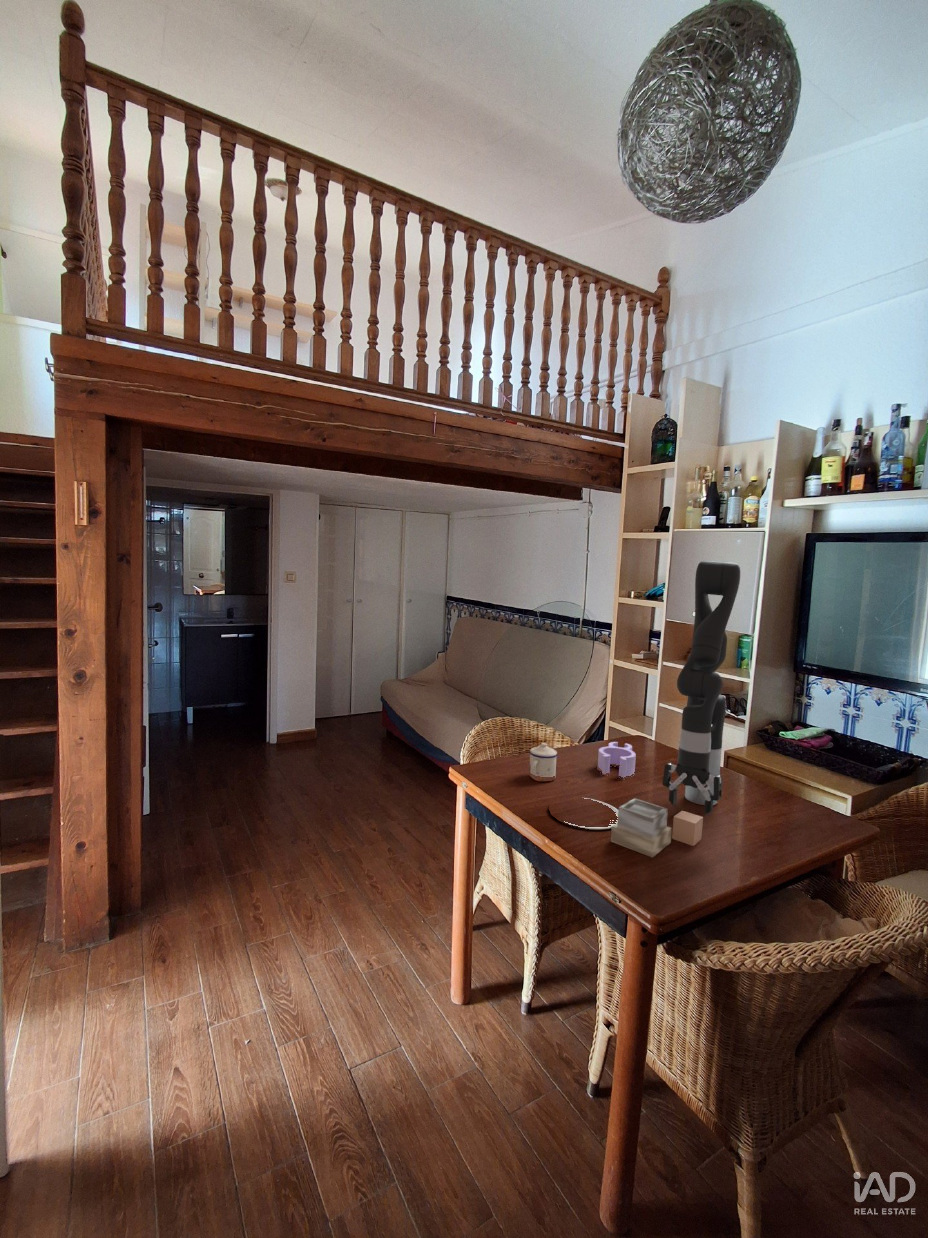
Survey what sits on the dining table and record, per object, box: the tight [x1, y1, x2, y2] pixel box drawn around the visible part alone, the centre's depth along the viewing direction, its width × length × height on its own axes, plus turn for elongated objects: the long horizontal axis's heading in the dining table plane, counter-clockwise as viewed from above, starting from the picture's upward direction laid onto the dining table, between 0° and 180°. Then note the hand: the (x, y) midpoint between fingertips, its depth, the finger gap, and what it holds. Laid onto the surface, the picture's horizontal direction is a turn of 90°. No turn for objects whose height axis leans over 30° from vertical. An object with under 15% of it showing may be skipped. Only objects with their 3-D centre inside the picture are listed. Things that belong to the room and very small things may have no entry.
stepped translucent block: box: [610, 797, 673, 859], centre depth 142 cm, size 11×11×9 cm
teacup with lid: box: [528, 742, 558, 777], centre depth 183 cm, size 12×9×12 cm
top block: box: [671, 810, 704, 847], centre depth 145 cm, size 6×6×6 cm
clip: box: [597, 741, 637, 778], centre depth 197 cm, size 20×12×7 cm, turn 157°
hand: (689, 809), depth 144 cm, fingers open, 8 cm apart
